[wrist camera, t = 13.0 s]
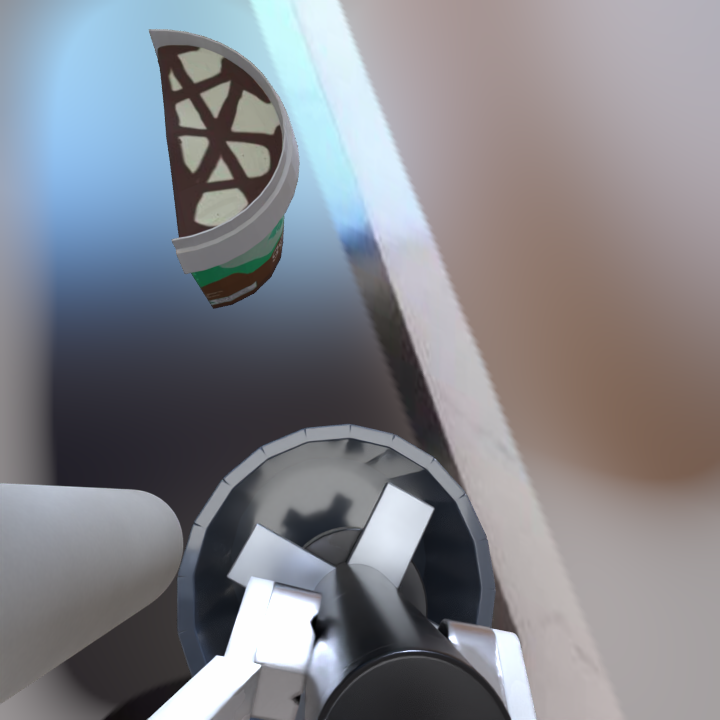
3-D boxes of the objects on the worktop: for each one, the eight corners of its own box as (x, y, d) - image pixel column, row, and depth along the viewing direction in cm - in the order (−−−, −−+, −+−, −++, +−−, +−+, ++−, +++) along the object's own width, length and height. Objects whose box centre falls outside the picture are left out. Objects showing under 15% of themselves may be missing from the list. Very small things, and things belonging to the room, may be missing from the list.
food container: (316, 316, 31) (319, 234, 21) (216, 331, 30) (172, 252, 20) (285, 151, 34) (277, 13, 24) (194, 159, 33) (147, 20, 23)
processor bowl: (177, 547, 26) (109, 573, 17) (339, 408, 29) (353, 367, 20) (318, 727, 25) (324, 862, 16) (474, 561, 28) (555, 592, 19)
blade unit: (183, 659, 14) (-73, 987, 5) (306, 442, 16) (301, 363, 7) (400, 786, 14) (596, 1412, 4) (497, 549, 16) (775, 623, 6)
